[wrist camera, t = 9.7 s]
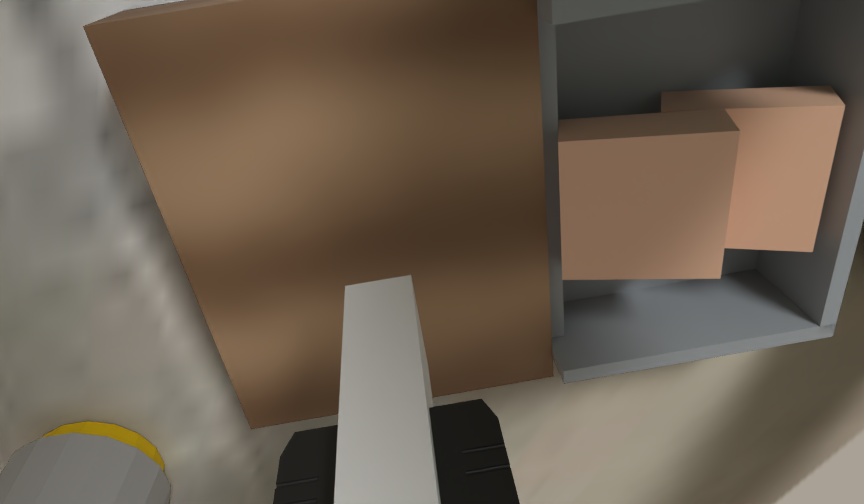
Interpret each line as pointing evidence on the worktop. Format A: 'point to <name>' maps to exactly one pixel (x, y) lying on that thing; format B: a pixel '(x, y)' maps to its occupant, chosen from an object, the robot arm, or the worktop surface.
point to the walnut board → (344, 179)
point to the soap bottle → (86, 468)
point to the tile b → (774, 160)
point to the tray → (641, 93)
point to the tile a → (646, 194)
